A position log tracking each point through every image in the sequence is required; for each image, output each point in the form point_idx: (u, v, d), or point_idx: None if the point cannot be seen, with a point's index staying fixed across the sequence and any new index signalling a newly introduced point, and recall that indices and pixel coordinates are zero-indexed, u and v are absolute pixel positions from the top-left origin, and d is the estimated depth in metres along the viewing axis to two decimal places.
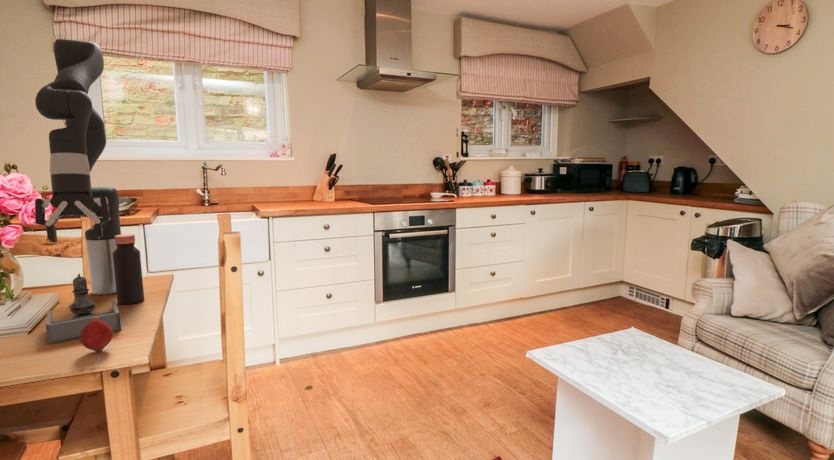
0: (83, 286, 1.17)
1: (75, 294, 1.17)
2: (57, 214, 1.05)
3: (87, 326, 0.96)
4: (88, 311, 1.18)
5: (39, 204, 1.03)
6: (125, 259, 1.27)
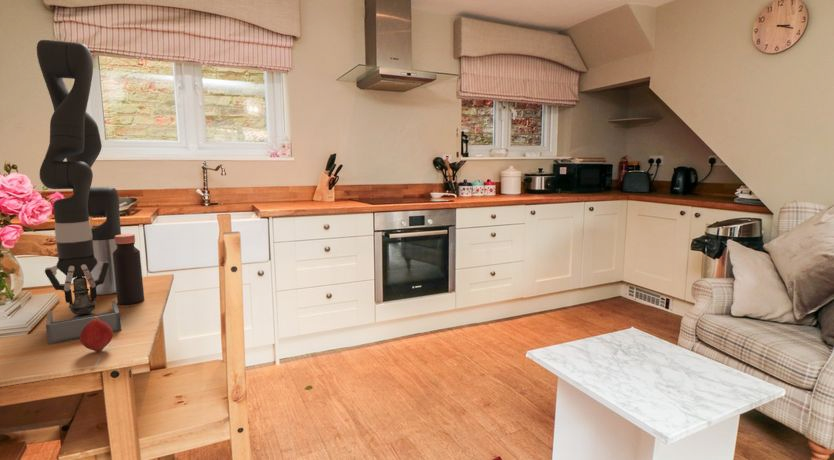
0: (83, 286, 1.17)
1: (75, 294, 1.17)
2: (70, 278, 1.15)
3: (87, 326, 0.96)
4: (88, 311, 1.18)
5: (50, 274, 1.13)
6: (125, 259, 1.27)
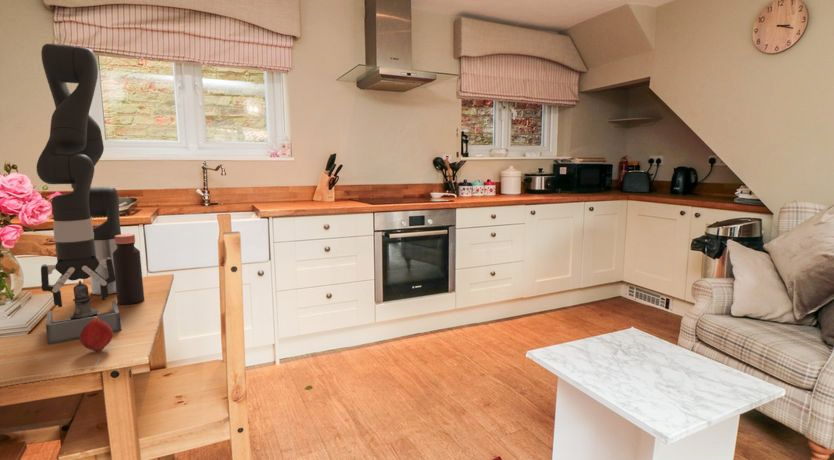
0: (85, 294, 1.09)
1: (76, 303, 1.08)
2: (64, 280, 1.05)
3: (87, 326, 0.96)
4: None
5: (45, 272, 1.03)
6: (125, 259, 1.27)
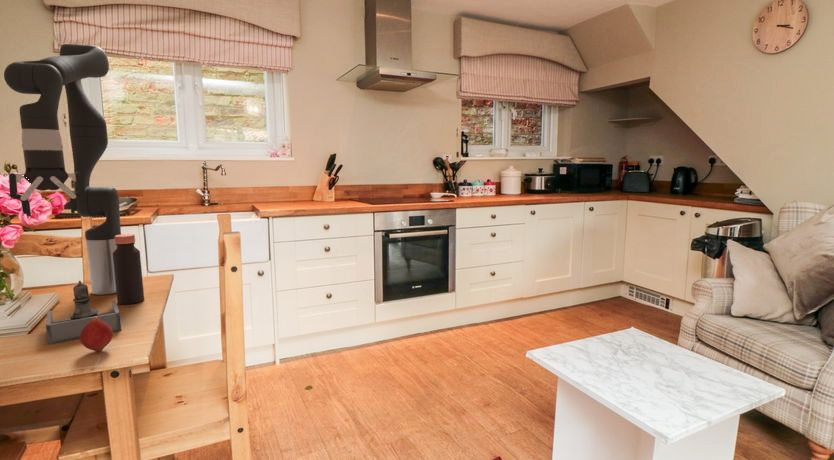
0: (84, 294, 1.09)
1: (76, 303, 1.08)
2: (33, 189, 1.07)
3: (87, 326, 0.96)
4: None
5: (13, 179, 1.05)
6: (125, 259, 1.27)
